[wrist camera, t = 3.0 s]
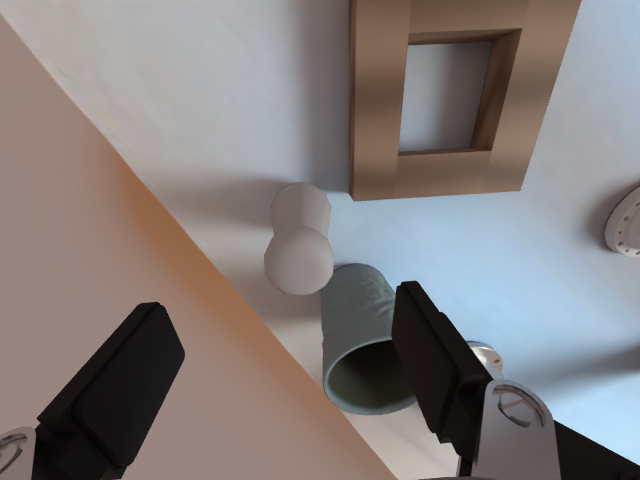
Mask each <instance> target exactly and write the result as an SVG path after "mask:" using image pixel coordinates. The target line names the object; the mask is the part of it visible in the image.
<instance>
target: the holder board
mask: <svg viewBox="0 0 640 480" xmlns="http://www.w3.org/2000/svg"><path fill="white" fill-rule="evenodd" d="M580 4H581V0H349V195H350V196H351V198H352V199H353V201H367V200H383V199H399V198H415V197H431V196H446V195H462V194H478V193H494V192H510V191H520V190H521V187H522V184H523V180H524V177H525V174H526V171H527V168H528V165H529V162H530V159H531V156H532V153H533V149H534V146H535V143H536V140H537V137H538V134H539V131H540V128H541V125H542V121H543V118H544V115H545V112H546V109H547V106H548V103H549V100H550V97H551V94H552V90H553V87H554V84H555V81H556V78H557V75H558V72H559V69H560V66H561V63H562V59H563V56H564V53H565V50H566V47H567V44H568V41H569V38H570V35H571V31H572V28H573V25H574V22H575V19H576V16H577V13H578V10H579V7H580ZM491 41H493V45H492V50H491V54H490V59H489V64H488V68H487V73H486V78H485V83H484V87H483V92H482V97H481V101H480V106H479V111H478V115H477V120H476V125H475V129H474V134H473V139H472V144H471V148H463V149H446V150H429V151H411V152H398V148H399V136H400V125H401V114H402V103H403V91H404V80H405V69H406V58H407V47H408V45H425V44H447V43H469V42H491Z"/></svg>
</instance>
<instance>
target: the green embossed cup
mask: <svg viewBox="0 0 640 480" xmlns="http://www.w3.org/2000/svg"><path fill="white" fill-rule="evenodd" d="M395 297H396V293H395V292H394V291H393V289H392V288H391V286H390V285H389V284H388V282H387V281H386V279H385V278H384V276H383V275H382V274H381V273H380V271H378V270H377V269H375V268H373V267H371V266H369V265H363V264H352V265H347V266H343V267H342V268H339V269H336V270H335V271H333V275H332V276H331V278H330V279H329V281H328V282H327V284H326V285H325V286H324V287H323V288H322V290H321V312H322V332H323V337H324V339H323V343H322V346H323V388H324V392H325V394H326V396H327V398H328V399H329V400H330V401H331V402H332V403H333V404H335V405H336V406H337V407H339V408H341V409H342V410H345V411H347V412H349V413H353V414H360V415H382V414H388V413H392V412H396V411H399V410H402V409H405V408H407V407H409V406H412V405H414V404H415V403H417V402H418V401H417V399H416V397H415V394H414V392H413V389H412V387H411V385H410V382H409V380H408V377H407V375H406V372H405V370H404V368H403V365H402V363H401V360H400V358H399V356H398V353H397V351H396V348H395V346H394V343H393V341H392V337H391V329H392V321H393V313H394V305H395Z"/></svg>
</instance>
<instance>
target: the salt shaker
mask: <svg viewBox="0 0 640 480" xmlns="http://www.w3.org/2000/svg"><path fill="white" fill-rule="evenodd" d="M330 217H331V206H330V203H329V201H328V199H327V196H326V195H325V194H324V193H323V192H322V191H321V190H320V189H318V188H317V187H316V186H315V185H311V184H307V183H303V182H300V183H295V184H290V185H288V186H286V187H285V188H284V189H282V190H281V191H280V192H278V193H277V194H276V197H275V199H274V201H273V203H272V223H273V230H274V237H272V239H271V241H270V244H269V246H268V248H267V250H266V252H265V254H264V264H265V275H266V276H267V278H268V279H269V281H270V282H271V284H272V285H273V286H274V287H276V288H277V289H279V290H280V291H282V292H283V293H286V294H291V295H297V296H301V295H307V294H312V293H315V292H316V291H318V290H319V289H321V288H323V287H324V286H325V285H326V284H327V282H328V281H329V279H330V278H331V276H332V275H333V268H334V253H333V250H332V248H331V246H330V244H329V241H328V239H327V234H328V229H329V224H330Z"/></svg>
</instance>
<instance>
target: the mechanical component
mask: <svg viewBox="0 0 640 480" xmlns="http://www.w3.org/2000/svg"><path fill="white" fill-rule="evenodd" d="M604 235H605V242H606V244H607V245H608V247H609V248H610V249H612V250H613V251H616V252H618V253H621V254H623V255H626V256H631V257H640V187H638V188H637V189H635V190H634V191H632V192H631V193H630V194H629V195H628V196H626V197H625V198H624V199H623V200H622V201H621V203H620V204H619V205H618V206H617V207H616V208H615V209H614V211H613V213H612V215H611V216H610V218H609V220H608V222H607V225H606V228H605V232H604Z"/></svg>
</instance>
